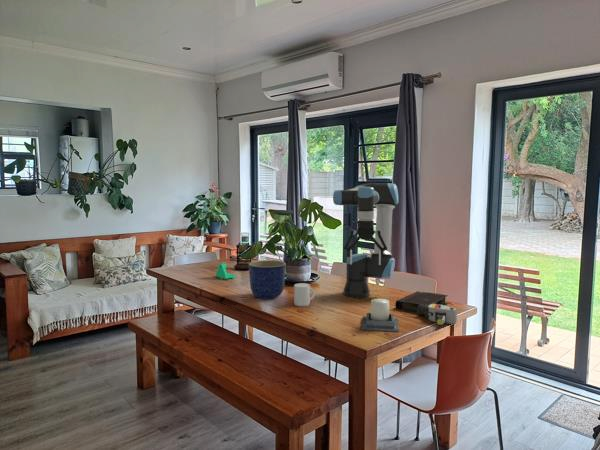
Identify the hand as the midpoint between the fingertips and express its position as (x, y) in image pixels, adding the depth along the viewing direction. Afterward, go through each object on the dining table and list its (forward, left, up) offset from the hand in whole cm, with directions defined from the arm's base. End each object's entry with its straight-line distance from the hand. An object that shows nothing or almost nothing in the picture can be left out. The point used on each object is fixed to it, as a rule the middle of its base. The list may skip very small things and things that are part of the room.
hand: (365, 264), depth 209 cm
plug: (+13, +7, -24) cm, 28 cm away
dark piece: (-101, -92, -25) cm, 139 cm away
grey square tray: (+13, +7, -25) cm, 29 cm away
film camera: (+4, +31, -25) cm, 40 cm away
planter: (-26, -55, -25) cm, 66 cm away
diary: (-21, +29, -25) cm, 44 cm away
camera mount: (-69, -95, -26) cm, 120 cm away
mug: (-16, -32, -25) cm, 44 cm away
